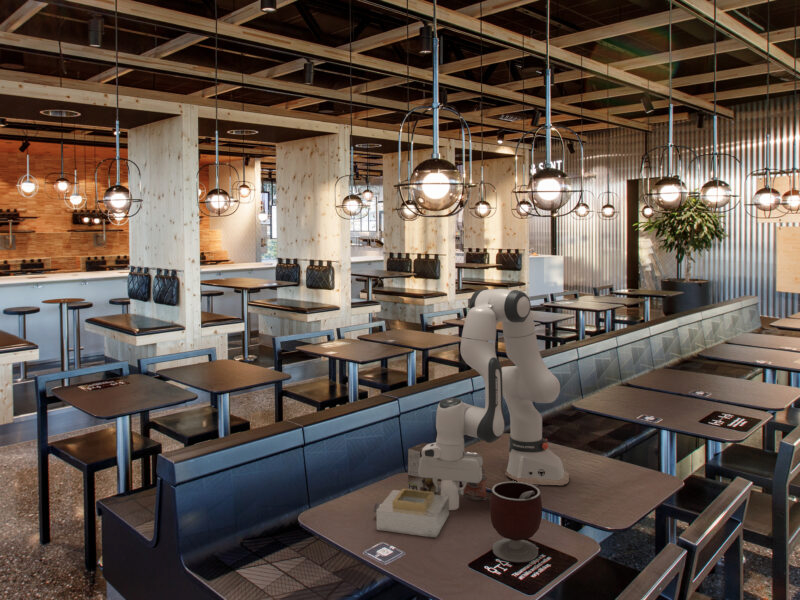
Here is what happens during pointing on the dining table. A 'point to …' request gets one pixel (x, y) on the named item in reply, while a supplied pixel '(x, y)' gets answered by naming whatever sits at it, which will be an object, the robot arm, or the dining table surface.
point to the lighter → (476, 489)
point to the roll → (451, 492)
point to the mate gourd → (515, 519)
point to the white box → (412, 512)
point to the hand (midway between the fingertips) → (450, 492)
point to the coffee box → (413, 477)
